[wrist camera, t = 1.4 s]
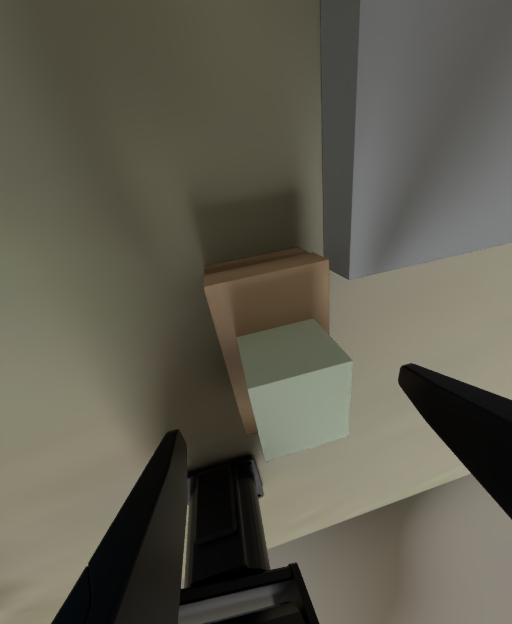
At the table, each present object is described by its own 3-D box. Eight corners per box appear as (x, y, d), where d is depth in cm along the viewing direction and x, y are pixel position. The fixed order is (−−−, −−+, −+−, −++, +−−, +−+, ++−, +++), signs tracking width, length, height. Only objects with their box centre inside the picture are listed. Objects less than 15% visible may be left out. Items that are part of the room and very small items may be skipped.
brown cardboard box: (305, 371, 16) (329, 411, 13) (238, 389, 15) (246, 435, 12) (297, 245, 12) (328, 259, 9) (204, 264, 11) (203, 286, 8)
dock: (475, 233, 14) (569, 243, 10) (324, 266, 13) (369, 291, 9) (574, -107, 8) (860, -349, 5) (318, -97, 7) (431, -400, 4)
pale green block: (316, 383, 12) (348, 436, 9) (251, 401, 11) (265, 462, 9) (313, 318, 10) (352, 360, 7) (236, 337, 9) (247, 389, 7)
